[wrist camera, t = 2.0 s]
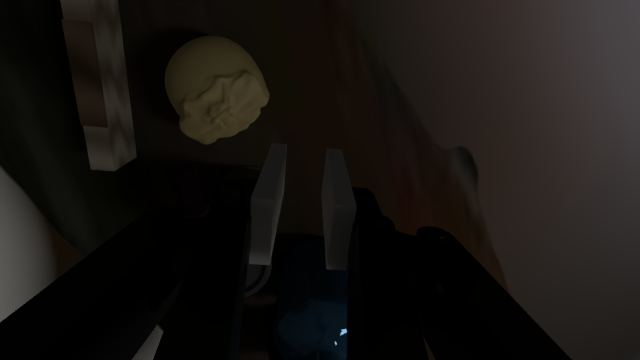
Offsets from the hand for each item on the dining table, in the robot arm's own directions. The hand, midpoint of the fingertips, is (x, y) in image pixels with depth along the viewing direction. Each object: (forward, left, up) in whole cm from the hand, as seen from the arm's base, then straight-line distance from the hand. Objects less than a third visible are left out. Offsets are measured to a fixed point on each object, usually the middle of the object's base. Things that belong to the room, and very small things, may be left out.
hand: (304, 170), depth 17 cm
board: (0, +27, -30) cm, 40 cm away
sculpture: (0, +12, -31) cm, 33 cm away
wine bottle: (-30, -4, -31) cm, 43 cm away
